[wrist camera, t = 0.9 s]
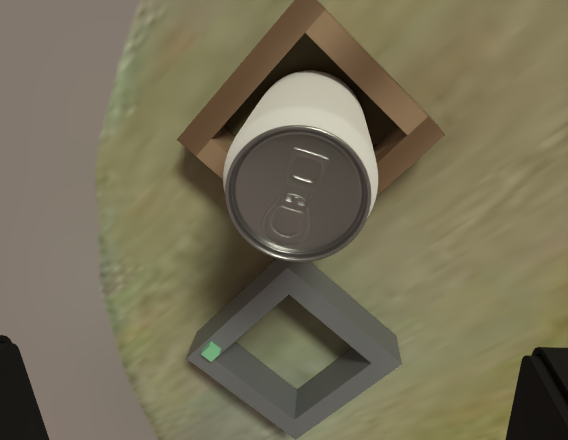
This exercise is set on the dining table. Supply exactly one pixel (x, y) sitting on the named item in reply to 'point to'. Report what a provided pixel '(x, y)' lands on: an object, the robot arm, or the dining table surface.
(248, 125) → the can
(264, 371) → the gray square frame
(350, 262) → the dining table surface
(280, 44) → the brown square frame
